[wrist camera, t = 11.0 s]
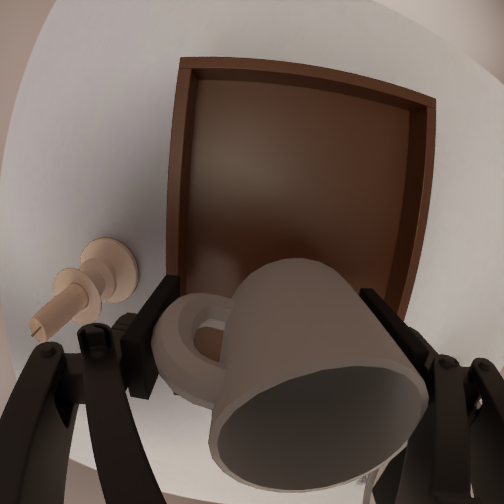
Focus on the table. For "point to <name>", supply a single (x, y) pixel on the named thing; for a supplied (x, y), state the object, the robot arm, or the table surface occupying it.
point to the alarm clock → (386, 480)
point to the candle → (87, 287)
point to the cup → (293, 378)
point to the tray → (295, 177)
